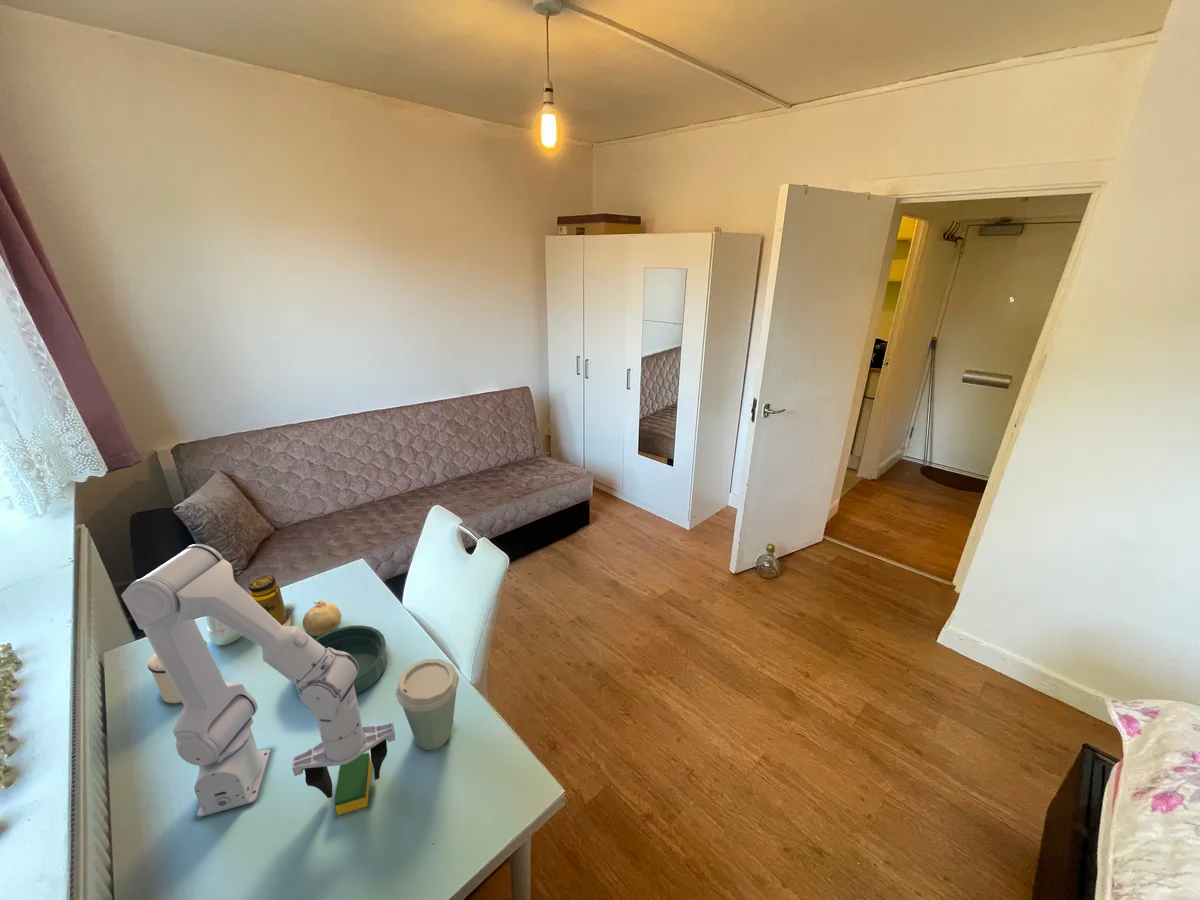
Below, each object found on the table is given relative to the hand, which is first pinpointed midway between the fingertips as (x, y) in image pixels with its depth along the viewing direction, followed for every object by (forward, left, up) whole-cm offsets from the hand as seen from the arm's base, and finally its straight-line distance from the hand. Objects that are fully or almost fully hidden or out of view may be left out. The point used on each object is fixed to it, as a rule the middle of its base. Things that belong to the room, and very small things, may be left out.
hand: (353, 782), depth 82 cm
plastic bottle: (+46, +31, -2) cm, 55 cm away
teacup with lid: (+34, +35, -2) cm, 49 cm away
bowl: (+28, +5, -1) cm, 28 cm away
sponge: (0, 0, -1) cm, 1 cm away
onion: (+43, +11, -2) cm, 44 cm away
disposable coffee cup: (+6, -13, -2) cm, 14 cm away
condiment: (+50, +23, -2) cm, 55 cm away
